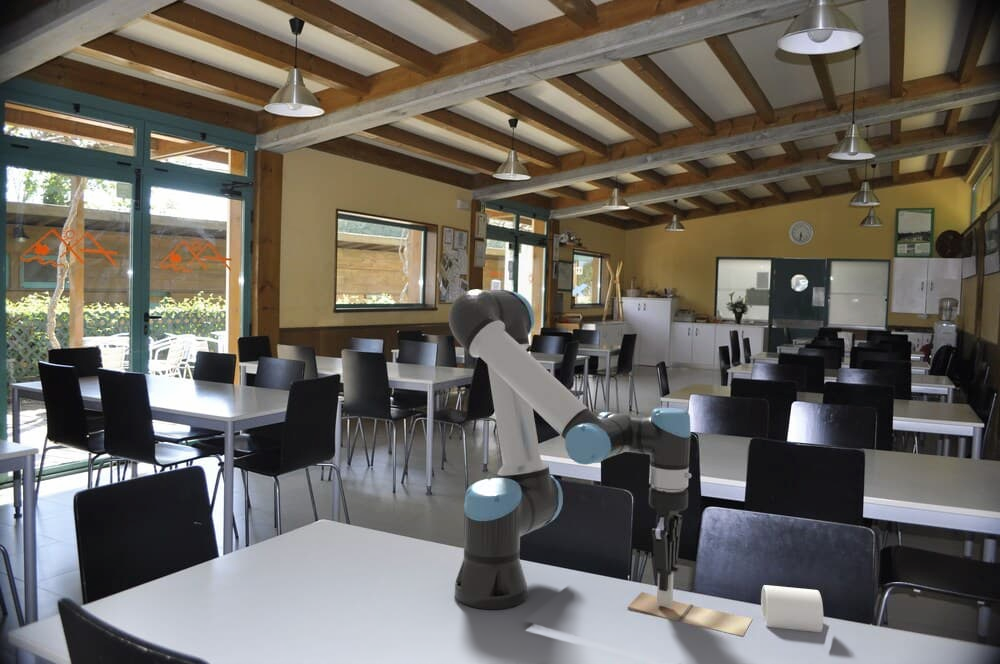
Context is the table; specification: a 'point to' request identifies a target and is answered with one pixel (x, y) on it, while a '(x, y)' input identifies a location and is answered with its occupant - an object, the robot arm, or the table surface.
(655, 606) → the plank
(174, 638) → the table surface
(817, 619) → the mug
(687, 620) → the floorboard
